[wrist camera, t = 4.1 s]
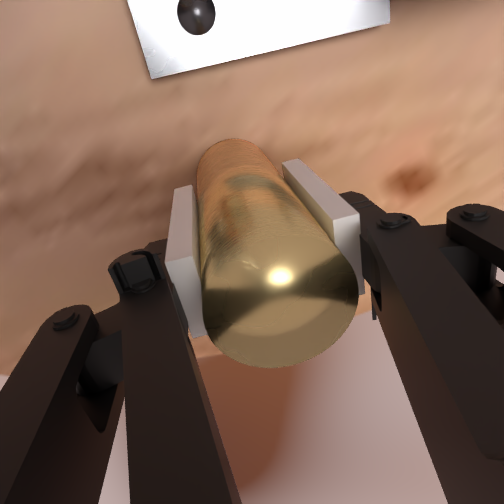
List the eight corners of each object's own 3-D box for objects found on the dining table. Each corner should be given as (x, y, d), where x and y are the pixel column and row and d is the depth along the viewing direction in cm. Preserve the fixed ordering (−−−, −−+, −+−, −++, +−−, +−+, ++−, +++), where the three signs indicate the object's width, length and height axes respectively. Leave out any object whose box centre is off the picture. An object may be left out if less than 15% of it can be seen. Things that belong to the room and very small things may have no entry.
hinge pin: (207, 219, 21) (224, 383, 10) (187, 149, 19) (181, 260, 8) (276, 202, 21) (363, 346, 10) (263, 130, 19) (353, 216, 8)
